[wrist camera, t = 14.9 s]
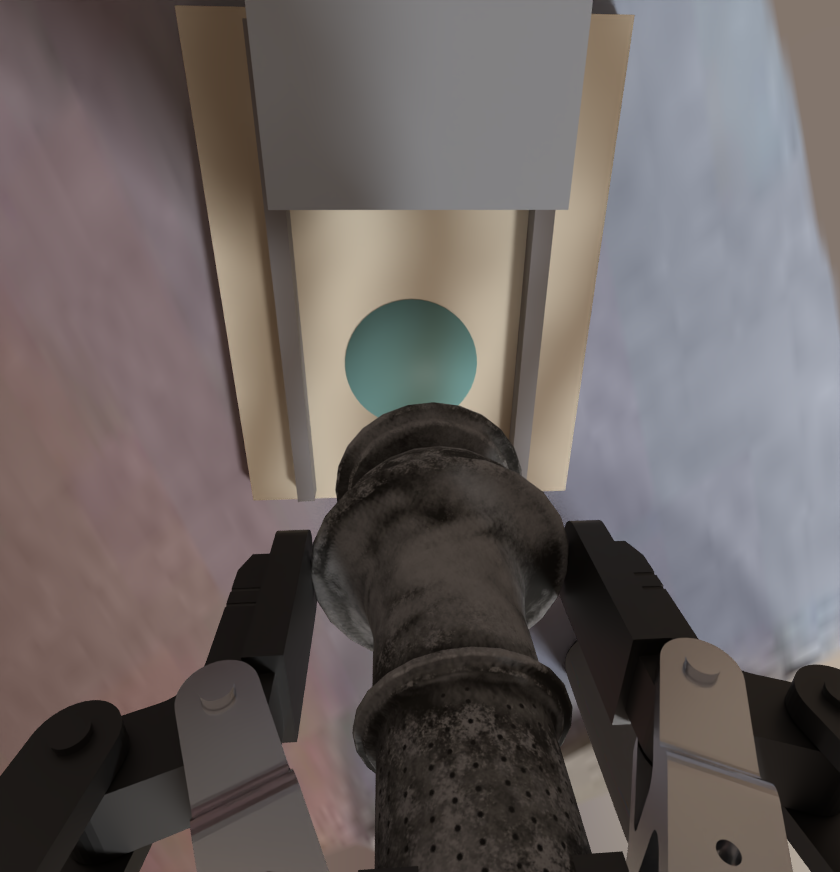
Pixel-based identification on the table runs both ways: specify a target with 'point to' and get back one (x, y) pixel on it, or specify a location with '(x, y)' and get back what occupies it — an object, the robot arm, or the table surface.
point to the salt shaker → (452, 643)
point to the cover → (418, 102)
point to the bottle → (604, 735)
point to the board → (395, 285)
